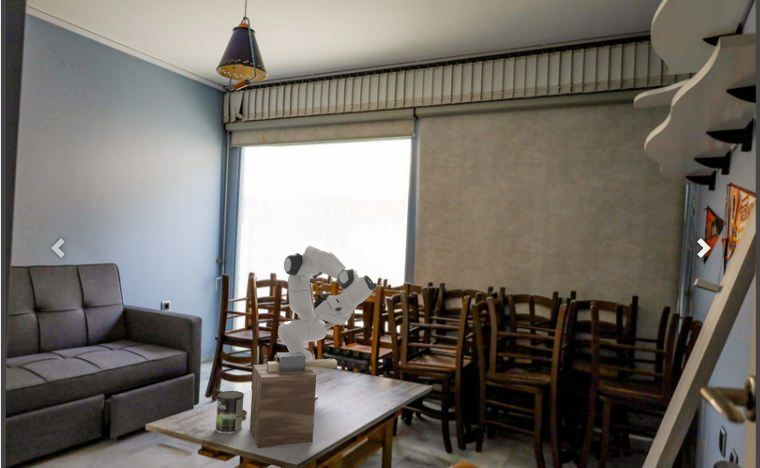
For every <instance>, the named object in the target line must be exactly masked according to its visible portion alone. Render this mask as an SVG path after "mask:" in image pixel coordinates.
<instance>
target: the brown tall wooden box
mask: <svg viewBox="0 0 760 468" xmlns="http://www.w3.org/2000/svg"><path fill="white" fill-rule="evenodd" d="M252 368H253V369H252V380H251V381H252V383H251V384H252V386H251V400H250V402H251V403H250V416H249V417H250V418H249V419H250V421H249V430H250V434H251V435H252V438H253V441H254V444H255V445H256V448H257V449H262V448H271V447H278V446H279V447H280V446H288V445H289V446H290V445H297V444H298V445H299V444H307V443H308V444H309V443H313V442H314V426H315V425H314V424H315V406H316V404H315V403H316V399H315V394H316V390H317V389H316V387H317V373H315V372H314V370H313V369H312V370H313V371H312V370H305V371H296V372H279V371H273V372H268V370H267V363H265V364H253V365H252Z"/></svg>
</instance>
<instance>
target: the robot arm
mask: <svg viewBox="0 0 760 468" xmlns="http://www.w3.org/2000/svg"><path fill="white" fill-rule="evenodd" d="M283 269H284V272H285V273H286V274H287V275H289V277H288V289H287V290H288V301H289V309H290V310H291V312H293V313H295V314H296V315H298V317H299V320H298V319H297V320H295V319H293V320H289V321H284V322H282V323H281V324H280V325H279V327H278V329H277V335H278V338H279V340H280V341H281V342H282V343H283V344H284V345H285V346H286V347H287V349H288V352H302V353H303V354H304V355H305V356H306V358H305V360H314V356H313V354H312V352H311V351H309V350H308V349H306V348H305V343H310V342H316V341H320V340H323V339H324V338H325V337H326V335H327V333H328V330H329V329H330V328H332V327H334V326H336V325H339V326H343V325H344V324H346V323H347V321H349V320H350V318H351V317H352V315H353V314H354V310H355V309H356V308H357V307H358V306H359V305H360V304H362V303H363V302H365V301H366V300H367V299H369V298H370V297H371V296H372V294H373V292H374V290H375V284H374V282H373V280H372V279H371V278H370V277H369V276H368V275H367V274H362V273H360V272H358V271H357V270H356V269H354V268H352V267H346V266H345V265H344V264H343V263H342V262H341V261H340V259H339V258H338V257H337V256H336V254H334V253H333V252H332V251H331V250H330V249H328V248H327V247H325V246H323V245H321V244H317V243H311V244H309V245H308V246H307V247H306V248H305V251H304V253H299V252H296V253H293V254H290V255H287V257H286V258H285V259H284V262H283ZM323 274H324V275H327V276H329V277H331V278H334V279H336V281H337V284H338V286H339V287H340V288H341V290H342V292H341V293H340V294H337V295H328V296H327V297H326V300H323V301H322V302H321V303H320V304H319V305H318V306H316V307H315V309H314V307H313V301H312V294H311V293H312V291H311V285H310V282H311V279H312V278H313V279H315V280H316V279H317V278H318V277H320V276H323ZM326 322H328V323H326ZM312 371H313V372H314V369H312ZM316 398H317V399H318V398H319V395H317V394H316V393H315V400H316Z"/></svg>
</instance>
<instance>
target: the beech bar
mask: <svg viewBox="0 0 760 468" xmlns="http://www.w3.org/2000/svg"><path fill="white" fill-rule="evenodd" d="M266 364H267V370H268V372H273V371H279V367H280V361H275V360H273V361H267V362H266ZM337 368H338V360H336V359H335V358H321V359H320V358H319V359H313V360H305V370H327V369H329V370H330V369H337Z"/></svg>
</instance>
